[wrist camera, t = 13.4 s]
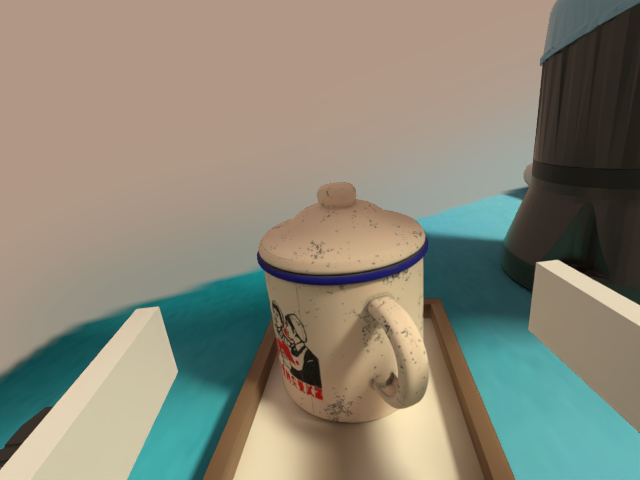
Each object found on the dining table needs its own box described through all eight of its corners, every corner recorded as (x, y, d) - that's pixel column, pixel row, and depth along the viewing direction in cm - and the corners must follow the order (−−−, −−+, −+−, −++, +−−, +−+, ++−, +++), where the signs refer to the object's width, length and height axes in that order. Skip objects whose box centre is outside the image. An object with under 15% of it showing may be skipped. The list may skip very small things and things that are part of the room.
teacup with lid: (267, 348, 25) (237, 185, 21) (382, 315, 27) (374, 164, 23) (321, 519, 14) (280, 249, 10) (504, 439, 16) (529, 196, 12)
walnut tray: (439, 315, 27) (439, 298, 26) (530, 555, 12) (535, 527, 12) (280, 319, 29) (278, 303, 28) (198, 534, 14) (189, 509, 14)
